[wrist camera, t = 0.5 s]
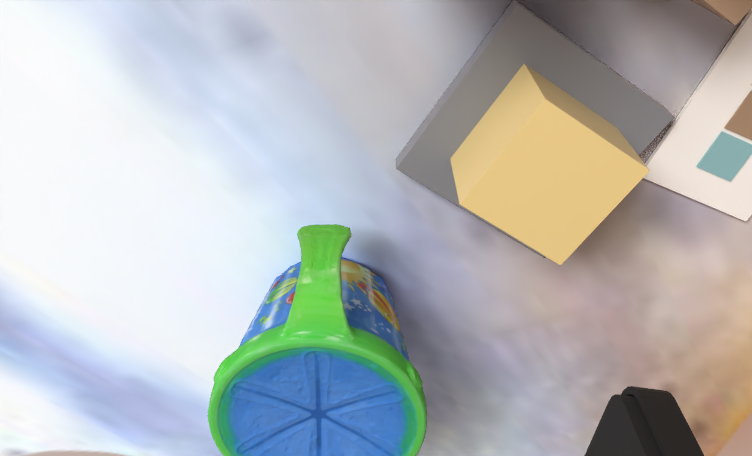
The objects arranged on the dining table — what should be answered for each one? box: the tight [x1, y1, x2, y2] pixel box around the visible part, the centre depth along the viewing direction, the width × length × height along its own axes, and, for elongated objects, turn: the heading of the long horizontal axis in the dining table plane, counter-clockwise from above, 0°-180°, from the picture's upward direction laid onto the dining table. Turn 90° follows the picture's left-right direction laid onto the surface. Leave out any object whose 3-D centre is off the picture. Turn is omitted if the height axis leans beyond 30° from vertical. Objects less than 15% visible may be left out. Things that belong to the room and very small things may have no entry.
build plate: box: [396, 0, 674, 265], centre depth 34 cm, size 10×10×6 cm
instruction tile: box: [643, 8, 752, 221], centre depth 36 cm, size 10×7×1 cm
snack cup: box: [208, 224, 427, 456], centre depth 38 cm, size 16×10×10 cm
